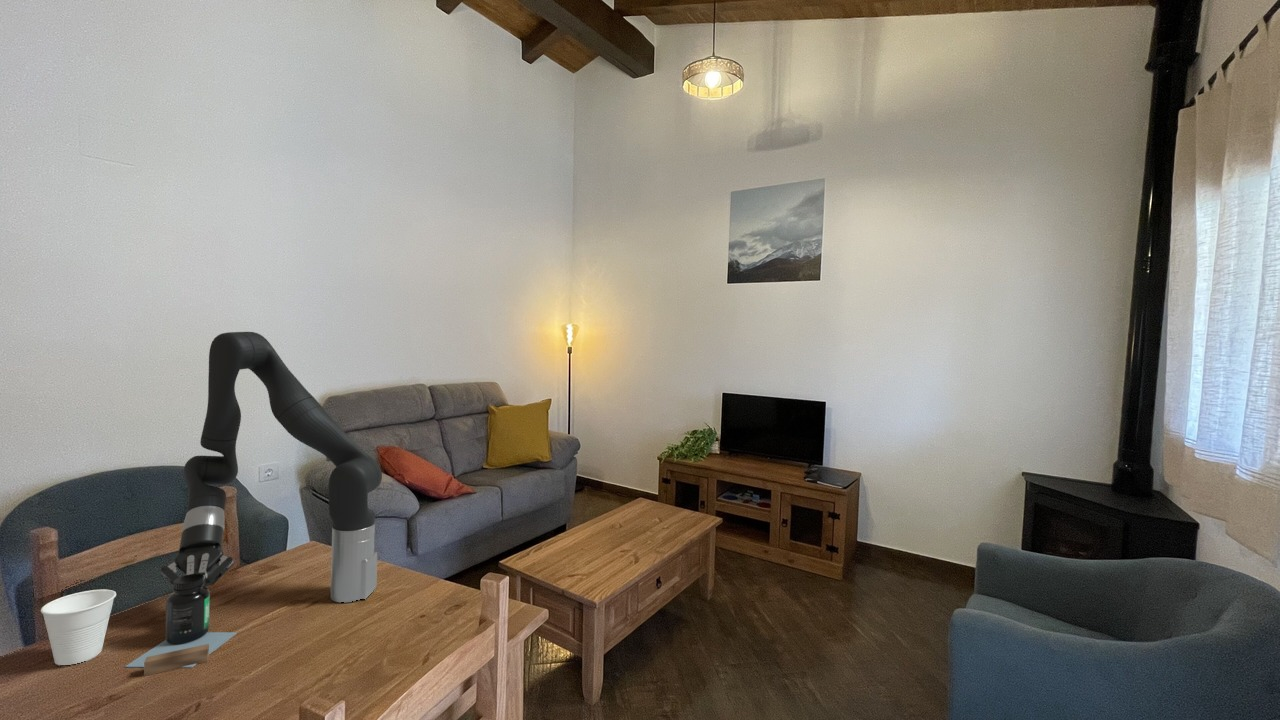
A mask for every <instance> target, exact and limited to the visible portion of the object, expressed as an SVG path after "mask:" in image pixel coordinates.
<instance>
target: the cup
mask: <svg viewBox="0 0 1280 720" xmlns="http://www.w3.org/2000/svg"><path fill="white" fill-rule="evenodd" d="M116 596H117V592H116V591H115V590H111V589H107V588H104V589H92V590H84V591H80V592H75V593H72V594H68V595H64V596H62V597H59V598H56V599H54V600H52V601H49V602H47V603H46V604H45V605H43V606H42V607H41V609H40V613H41V614H42V615H43V618H44V623H45V628H46V631H47V635H48V639H49V642H50V643H49V644H50V647H51V652H52V656H53V661H54V664H55V665H57V666H60V665H71V664H76V665H78V664H77V663H80V664H82V663H81V662H83V663H85V662H84V661H86V662H88V661H90V660H93V659H94V658H96V657H97V656H98V655H99V654H100V653H101V652H102V651H103V648H104V647H103V646H104V642H105V637H106V633H107V629H108V625H109V620H110V618H111V617H110V616H111V614H112V613H111V612H112V609H113V604H114V601H115V598H116ZM71 666H72V665H71Z"/></svg>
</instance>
